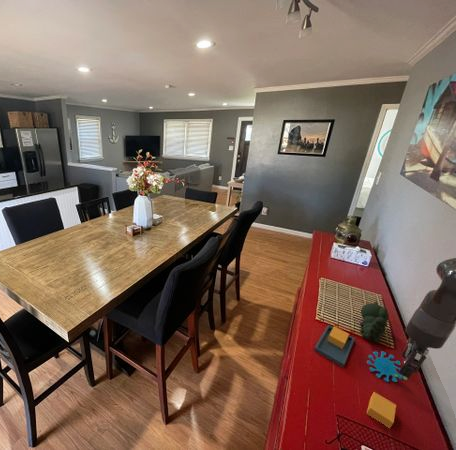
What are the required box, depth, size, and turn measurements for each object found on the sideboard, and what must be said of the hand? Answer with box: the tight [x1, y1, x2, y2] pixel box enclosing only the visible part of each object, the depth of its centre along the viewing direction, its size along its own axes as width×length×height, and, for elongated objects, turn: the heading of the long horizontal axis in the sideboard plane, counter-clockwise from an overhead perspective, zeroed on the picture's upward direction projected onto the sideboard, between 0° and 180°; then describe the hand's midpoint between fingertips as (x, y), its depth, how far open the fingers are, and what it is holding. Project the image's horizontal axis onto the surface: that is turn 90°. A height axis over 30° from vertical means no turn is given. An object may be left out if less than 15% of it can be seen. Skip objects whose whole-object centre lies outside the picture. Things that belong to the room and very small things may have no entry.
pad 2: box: [366, 391, 397, 430], centre depth 77 cm, size 6×8×3 cm
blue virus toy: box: [366, 350, 408, 383], centre depth 90 cm, size 11×6×10 cm
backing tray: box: [313, 324, 356, 368], centre depth 101 cm, size 10×19×2 cm, turn 132°
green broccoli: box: [359, 301, 389, 344], centre depth 106 cm, size 9×19×25 cm
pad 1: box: [327, 326, 350, 349], centre depth 103 cm, size 6×8×3 cm
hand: (404, 366), depth 73 cm, fingers open, 8 cm apart
